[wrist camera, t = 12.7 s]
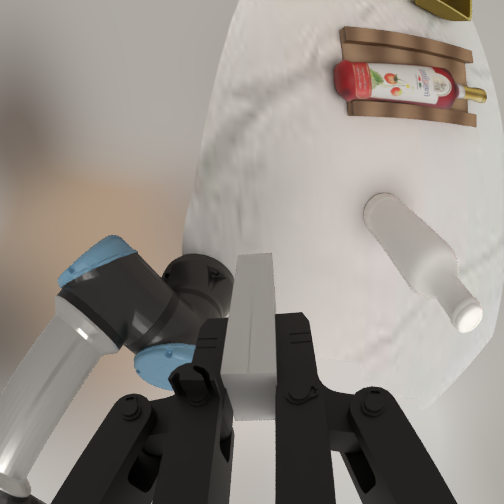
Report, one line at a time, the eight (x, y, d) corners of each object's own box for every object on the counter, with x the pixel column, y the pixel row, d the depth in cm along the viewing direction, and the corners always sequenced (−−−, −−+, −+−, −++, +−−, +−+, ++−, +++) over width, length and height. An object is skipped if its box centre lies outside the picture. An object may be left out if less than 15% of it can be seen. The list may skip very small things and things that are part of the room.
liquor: (335, 105, 41) (473, 115, 38) (346, 100, 34) (496, 116, 31) (330, 63, 38) (468, 78, 35) (339, 51, 31) (491, 75, 28)
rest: (347, 115, 42) (353, 116, 39) (339, 30, 35) (344, 25, 32) (466, 125, 40) (476, 127, 37) (461, 51, 33) (471, 50, 30)
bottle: (378, 184, 47) (479, 278, 21) (408, 205, 49) (507, 303, 22) (354, 220, 51) (427, 339, 24) (385, 239, 52) (462, 354, 26)
